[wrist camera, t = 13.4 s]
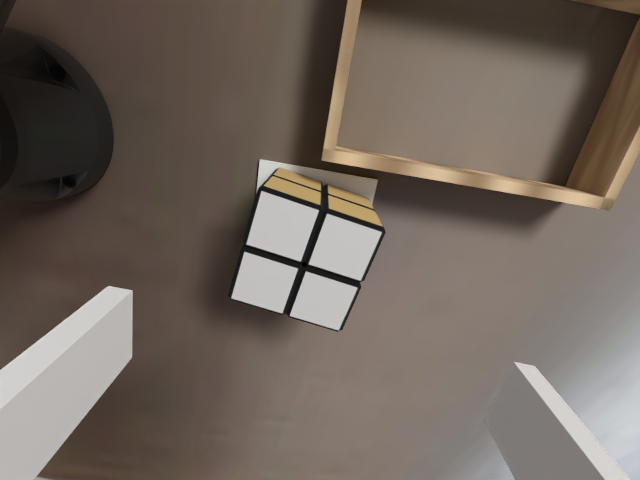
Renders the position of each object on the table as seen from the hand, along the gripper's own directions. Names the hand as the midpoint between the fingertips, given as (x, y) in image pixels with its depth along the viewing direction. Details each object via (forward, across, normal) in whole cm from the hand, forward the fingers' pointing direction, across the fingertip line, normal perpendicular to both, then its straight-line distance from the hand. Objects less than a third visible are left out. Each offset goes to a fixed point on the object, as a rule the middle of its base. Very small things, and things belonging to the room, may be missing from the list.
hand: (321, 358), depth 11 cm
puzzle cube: (+24, -1, -3) cm, 24 cm away
